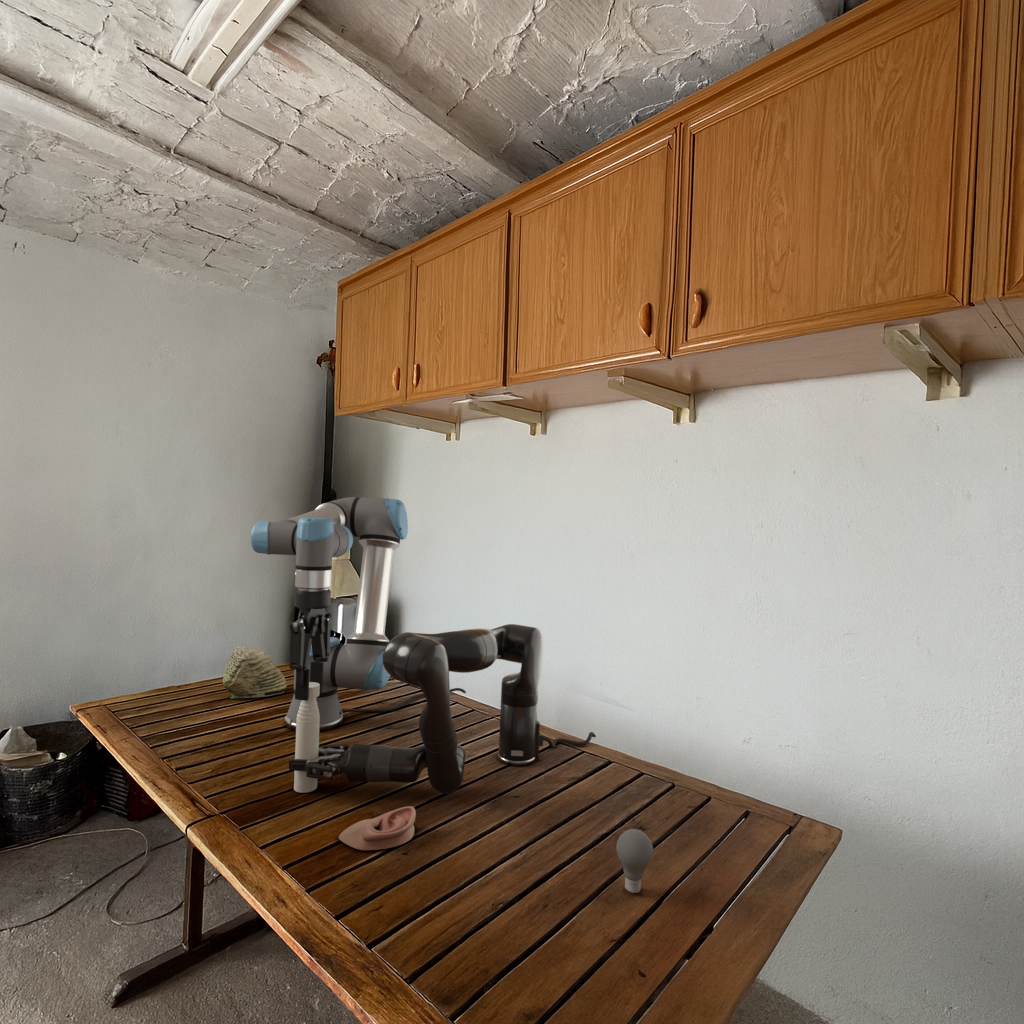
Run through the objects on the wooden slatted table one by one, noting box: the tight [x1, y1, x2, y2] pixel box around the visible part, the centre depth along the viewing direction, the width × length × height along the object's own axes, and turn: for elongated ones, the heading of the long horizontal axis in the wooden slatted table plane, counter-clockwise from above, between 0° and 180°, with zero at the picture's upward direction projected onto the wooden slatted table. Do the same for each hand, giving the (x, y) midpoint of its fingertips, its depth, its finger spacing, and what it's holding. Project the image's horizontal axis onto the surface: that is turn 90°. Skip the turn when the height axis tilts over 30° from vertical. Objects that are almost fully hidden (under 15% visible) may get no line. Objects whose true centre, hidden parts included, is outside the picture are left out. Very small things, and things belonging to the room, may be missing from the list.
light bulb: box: [615, 828, 654, 894], centre depth 106 cm, size 6×6×10 cm
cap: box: [309, 682, 320, 699], centre depth 137 cm, size 4×4×2 cm
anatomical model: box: [338, 805, 417, 851], centre depth 119 cm, size 13×4×12 cm
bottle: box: [293, 698, 320, 794], centre depth 137 cm, size 5×5×22 cm
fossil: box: [222, 646, 288, 699], centre depth 198 cm, size 9×18×15 cm, turn 132°
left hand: (309, 695), depth 137 cm, fingers open, 5 cm apart
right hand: (294, 759), depth 137 cm, fingers closed on bottle, 5 cm apart
